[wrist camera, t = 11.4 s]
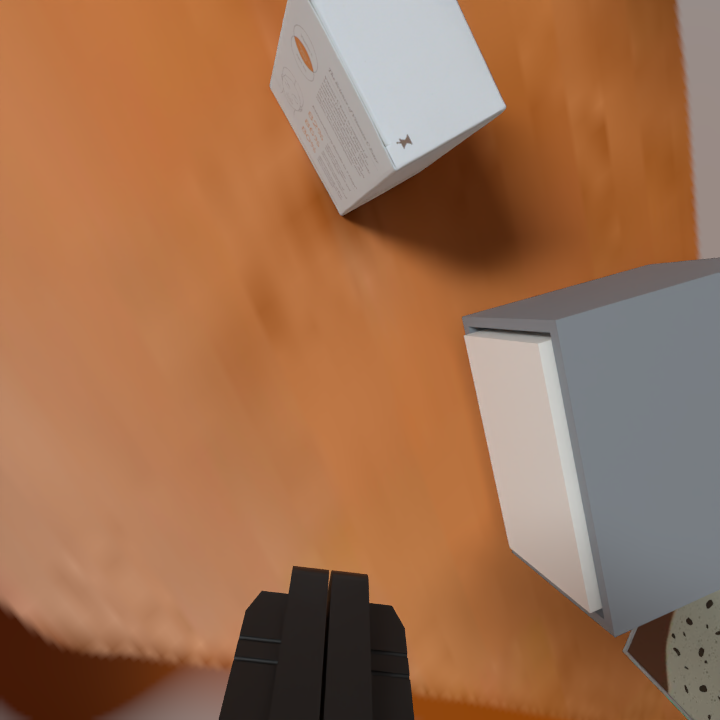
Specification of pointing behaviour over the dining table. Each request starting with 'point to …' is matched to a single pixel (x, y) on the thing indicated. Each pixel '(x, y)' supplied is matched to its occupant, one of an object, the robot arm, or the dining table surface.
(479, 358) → the white cuboid
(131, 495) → the dining table surface
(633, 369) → the sleeve
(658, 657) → the food container
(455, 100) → the small box
